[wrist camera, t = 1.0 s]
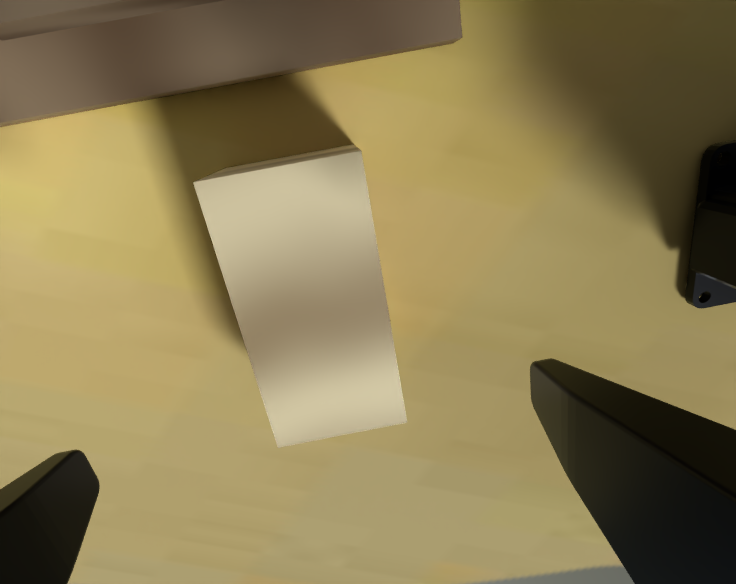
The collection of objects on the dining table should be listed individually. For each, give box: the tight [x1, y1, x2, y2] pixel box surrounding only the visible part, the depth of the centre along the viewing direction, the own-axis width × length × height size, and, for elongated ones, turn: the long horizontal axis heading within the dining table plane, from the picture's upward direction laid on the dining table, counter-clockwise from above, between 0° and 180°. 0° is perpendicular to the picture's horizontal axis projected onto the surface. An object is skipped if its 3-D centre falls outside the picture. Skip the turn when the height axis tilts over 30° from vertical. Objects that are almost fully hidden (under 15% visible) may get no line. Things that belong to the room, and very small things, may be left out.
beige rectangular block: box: [193, 144, 407, 448], centre depth 15 cm, size 9×4×4 cm, turn 10°
